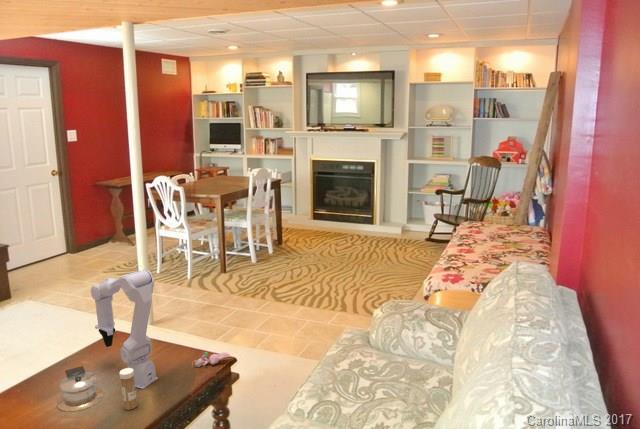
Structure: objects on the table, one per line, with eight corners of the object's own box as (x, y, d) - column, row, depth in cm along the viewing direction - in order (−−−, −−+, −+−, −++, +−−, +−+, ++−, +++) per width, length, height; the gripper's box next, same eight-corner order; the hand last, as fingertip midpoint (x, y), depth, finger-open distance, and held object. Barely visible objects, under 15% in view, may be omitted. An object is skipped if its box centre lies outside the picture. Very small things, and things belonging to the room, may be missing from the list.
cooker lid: (99, 386, 175) (98, 380, 175) (62, 397, 169) (61, 390, 169) (91, 368, 188) (90, 362, 187) (57, 378, 181) (56, 372, 181)
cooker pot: (107, 401, 176) (105, 387, 175) (60, 417, 168) (57, 402, 167) (99, 383, 188) (97, 369, 187) (54, 396, 180) (52, 382, 179)
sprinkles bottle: (136, 409, 171) (132, 373, 168) (122, 411, 170) (118, 375, 167) (138, 401, 176) (134, 366, 173) (124, 403, 175) (120, 368, 172)
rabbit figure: (193, 373, 196) (231, 363, 199) (189, 360, 195) (227, 349, 197) (193, 365, 202) (230, 355, 205) (190, 352, 201) (227, 342, 203)
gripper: (90, 310, 199) (94, 341, 201) (97, 322, 187) (101, 355, 190) (109, 305, 202) (112, 337, 205) (117, 317, 191) (121, 350, 193)
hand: (108, 345), depth 198 cm, fingers closed
